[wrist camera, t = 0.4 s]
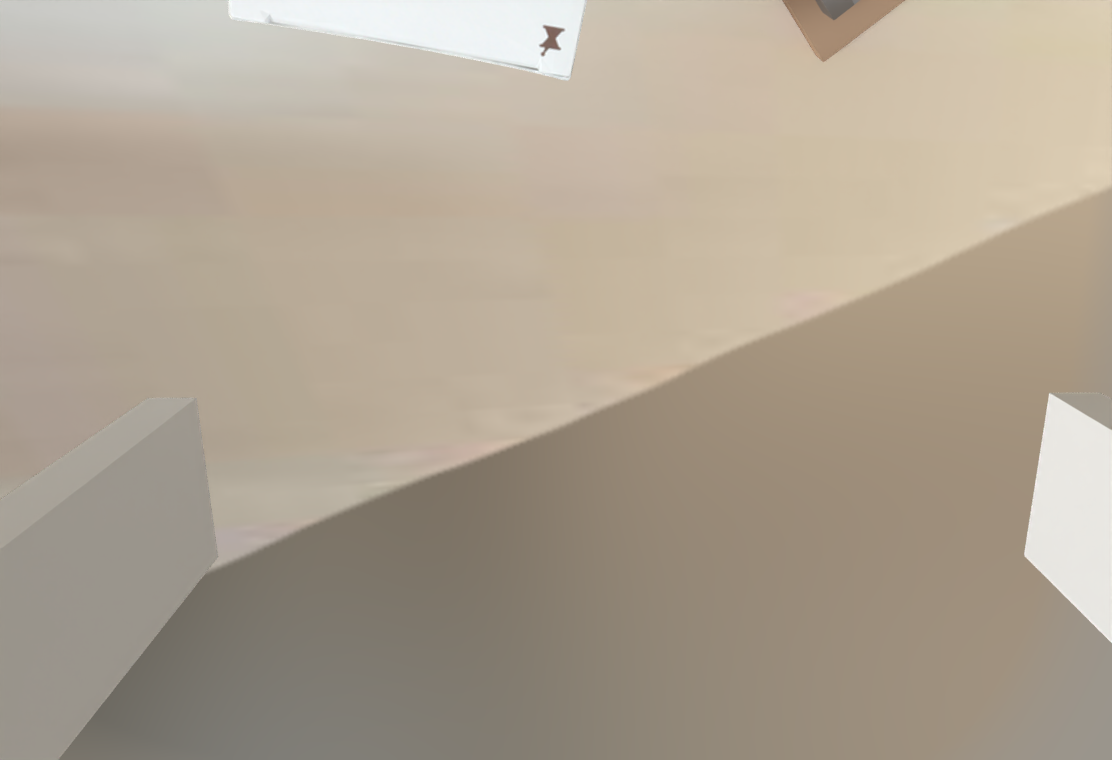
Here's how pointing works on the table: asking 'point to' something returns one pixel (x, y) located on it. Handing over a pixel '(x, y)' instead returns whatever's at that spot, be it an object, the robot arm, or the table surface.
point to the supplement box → (442, 26)
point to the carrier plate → (836, 21)
